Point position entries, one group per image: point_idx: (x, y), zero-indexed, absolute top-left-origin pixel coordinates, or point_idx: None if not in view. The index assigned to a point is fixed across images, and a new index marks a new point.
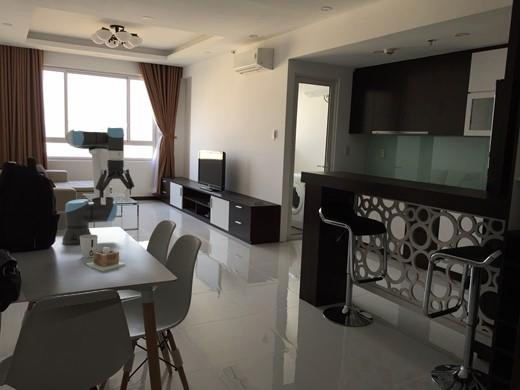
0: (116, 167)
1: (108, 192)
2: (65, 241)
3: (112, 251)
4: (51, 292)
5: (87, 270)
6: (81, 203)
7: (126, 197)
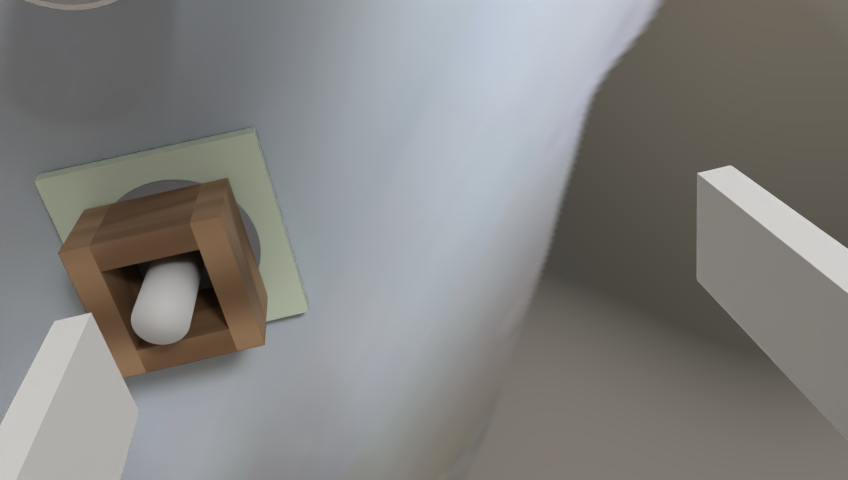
0: None
1: None
2: None
3: (223, 304)
4: None
5: (23, 288)
6: None
7: (750, 267)
